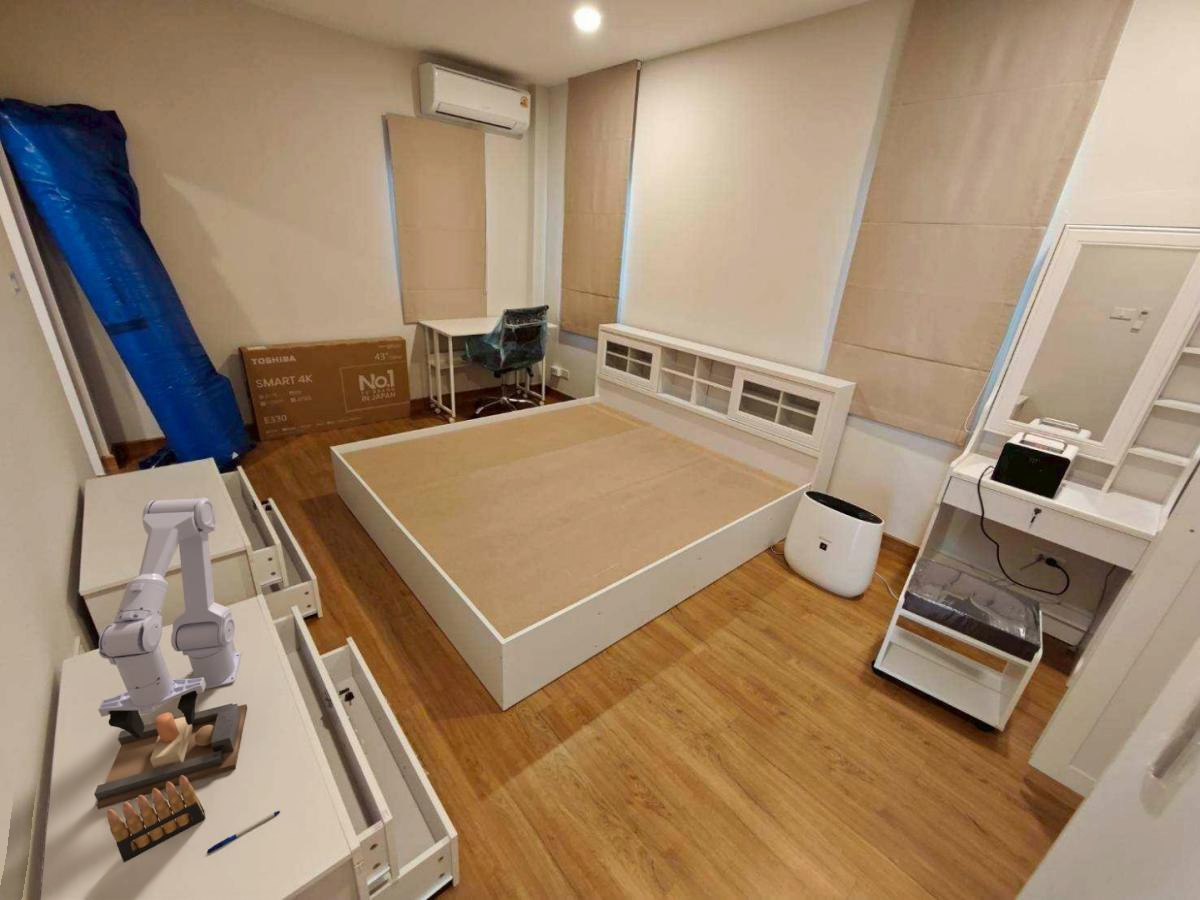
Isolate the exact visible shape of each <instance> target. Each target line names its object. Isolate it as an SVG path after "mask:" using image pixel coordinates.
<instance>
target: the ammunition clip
mask: <svg viewBox="0 0 1200 900" xmlns="http://www.w3.org/2000/svg"><path fill="white" fill-rule="evenodd" d="M179 784H180V785H179V788H180V792H181V793H179V792H178V789H177V788H176V786H174V785H173V784H172V783H171V782H167V783H166V789H165V791H166V795H167V799H165V797H164V795H163V793H162V791H159V790H158V789H156V788H153V790H152V793H151V799H152V801H153V806H154V807H153V806H152V805H151V803H150V802H149V801H148V799H147V798H146V797H145V796H143V795H139V796H138V798H137V806H138V809H139V812H140V814H139V813H137V812H136V810H135V809H134V807H133V805H131V804H130V803H129V802H127V801H124V802H122V807H121V809H122V813H123V816H124V819H125V821H123V820H122V818H121V817H120V815H119V814H118V813H117V812H116V811H115V810H113V809H111V808H110V809H108V810H107V812H106V818H107V822H108V824H109V827H110V828H109V829H110V833H111V834H112V836H113V839H114V840H115V842H116V847H117V849H118V852H119V854H120V856H121V860H122V862H123V863H126V862H128V861H131V859H133V858H136V857H137V856H139V855H141V854H143V853H145V852H147V851H149V850H150V849H153V848H155V847H156V846H158V845H160V844H162V843H164V842H166V841H168V840H170V839H171V838H174V837H176V836H177V835H179V834H181V833H183V832H185V831H186V830H190V828H192V827H195V826H196V825H198V824H200V823H202V822H204V821H205V819H206V814H205V809H204V807H203V805H202V804H201V802H200V800H199V798H198V795H197V794H196V791H195V789H194V787H193V786H192V785H191V782H189V781H188V779H187V778H186V777H185V776H183V775H181V776H180V778H179Z"/></svg>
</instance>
